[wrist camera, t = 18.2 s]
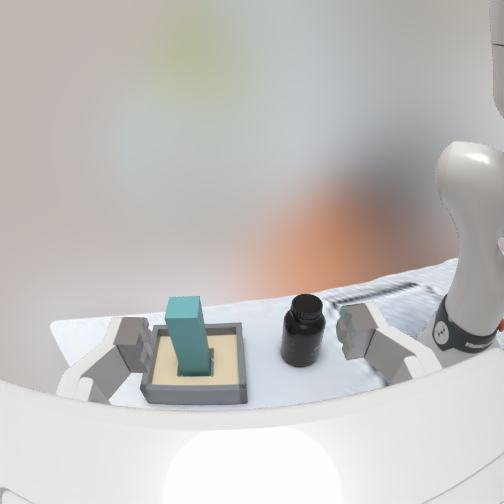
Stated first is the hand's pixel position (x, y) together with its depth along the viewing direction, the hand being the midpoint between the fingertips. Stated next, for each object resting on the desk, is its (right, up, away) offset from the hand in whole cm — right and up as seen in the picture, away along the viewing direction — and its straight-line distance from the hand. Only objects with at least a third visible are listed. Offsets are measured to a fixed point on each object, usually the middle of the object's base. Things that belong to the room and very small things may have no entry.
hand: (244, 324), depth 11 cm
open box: (-9, -17, +34) cm, 39 cm away
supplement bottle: (+9, -15, +37) cm, 41 cm away
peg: (-9, -17, +34) cm, 39 cm away
